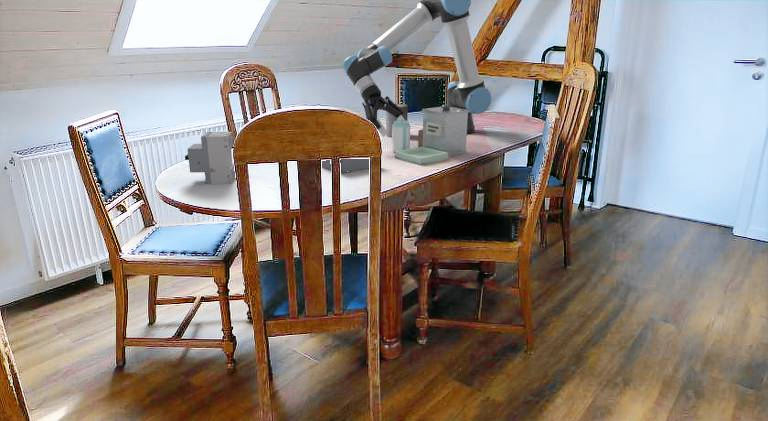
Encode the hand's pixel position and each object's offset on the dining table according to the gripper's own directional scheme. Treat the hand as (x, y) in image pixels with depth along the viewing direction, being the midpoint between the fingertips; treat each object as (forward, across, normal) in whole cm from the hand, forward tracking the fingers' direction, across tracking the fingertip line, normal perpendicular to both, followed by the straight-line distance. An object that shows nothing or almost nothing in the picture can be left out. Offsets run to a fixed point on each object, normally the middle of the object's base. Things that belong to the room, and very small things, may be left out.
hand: (396, 132), depth 212 cm
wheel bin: (+7, +30, -4) cm, 31 cm away
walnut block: (+8, -15, -3) cm, 17 cm away
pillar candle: (-9, -25, -20) cm, 33 cm away
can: (+7, -1, -4) cm, 8 cm away
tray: (+16, +4, +5) cm, 17 cm away
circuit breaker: (-6, +72, -18) cm, 75 cm away
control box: (+16, -11, +6) cm, 20 cm away
